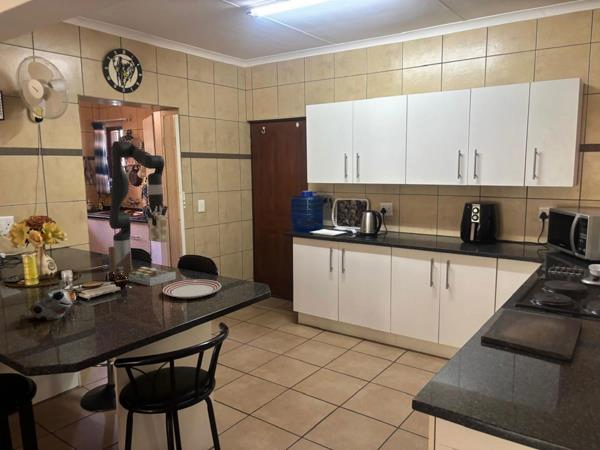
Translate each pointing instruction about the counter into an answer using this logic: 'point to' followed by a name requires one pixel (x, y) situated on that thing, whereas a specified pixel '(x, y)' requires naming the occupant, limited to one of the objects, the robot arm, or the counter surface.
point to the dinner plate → (192, 288)
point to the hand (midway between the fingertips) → (156, 225)
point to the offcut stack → (147, 272)
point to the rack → (153, 278)
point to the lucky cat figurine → (53, 305)
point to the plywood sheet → (157, 229)
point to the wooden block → (124, 262)
